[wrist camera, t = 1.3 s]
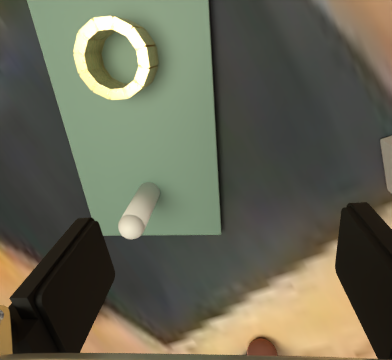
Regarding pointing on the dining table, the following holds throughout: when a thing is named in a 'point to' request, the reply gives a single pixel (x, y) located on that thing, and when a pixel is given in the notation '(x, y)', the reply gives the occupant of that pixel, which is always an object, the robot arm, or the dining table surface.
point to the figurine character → (261, 348)
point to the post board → (140, 117)
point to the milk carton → (387, 160)
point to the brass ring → (93, 63)
